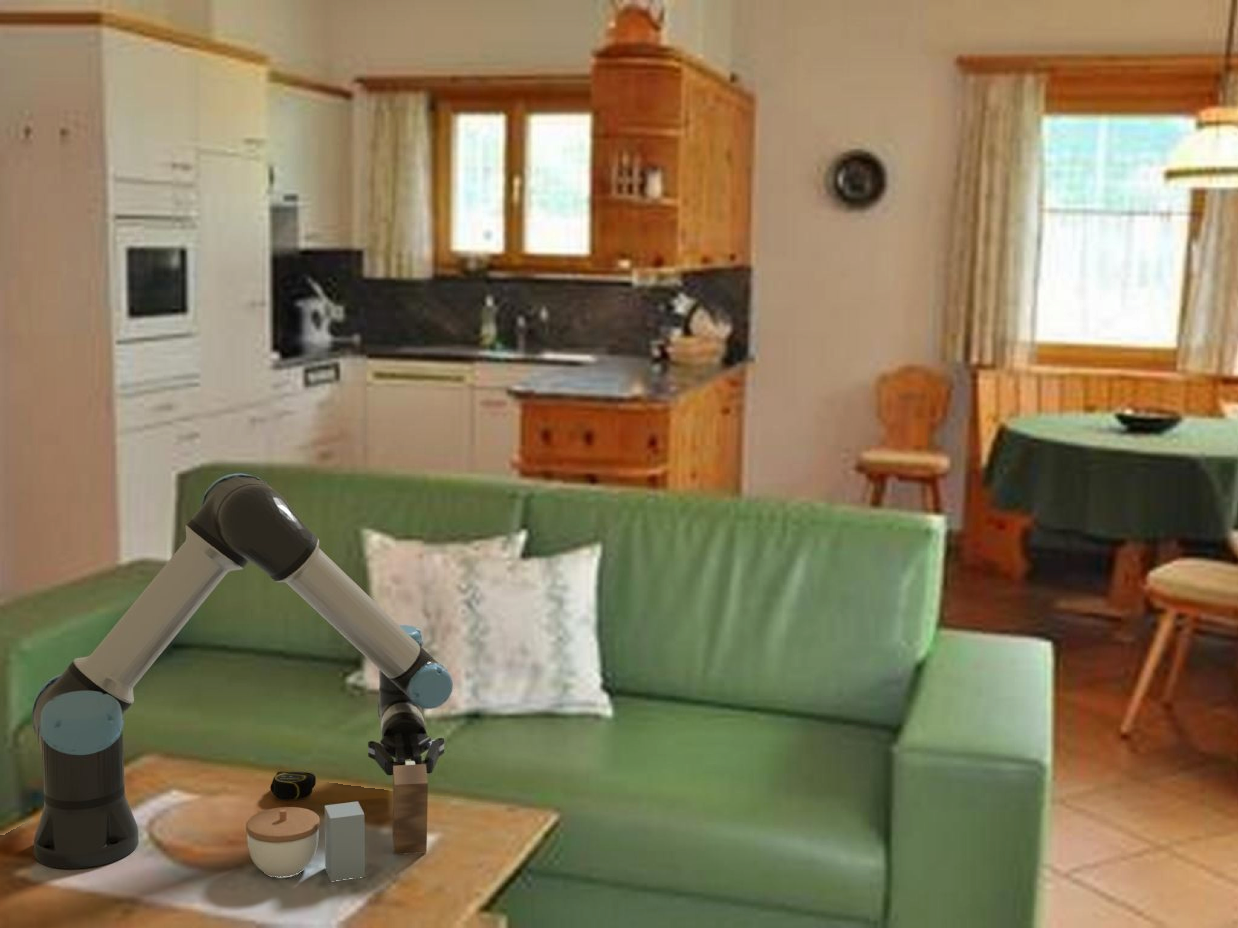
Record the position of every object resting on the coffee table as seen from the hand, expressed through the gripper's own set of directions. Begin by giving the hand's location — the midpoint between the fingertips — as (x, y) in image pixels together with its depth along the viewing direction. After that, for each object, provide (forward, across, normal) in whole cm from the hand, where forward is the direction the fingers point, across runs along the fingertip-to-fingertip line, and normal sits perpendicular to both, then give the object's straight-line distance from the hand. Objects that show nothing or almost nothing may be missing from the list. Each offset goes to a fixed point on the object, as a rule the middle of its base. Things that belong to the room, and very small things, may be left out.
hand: (412, 784), depth 220 cm
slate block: (+8, +11, -10) cm, 17 cm away
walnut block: (+1, 0, -9) cm, 9 cm away
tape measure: (-23, +19, -10) cm, 32 cm away
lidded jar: (+6, +20, -10) cm, 23 cm away
